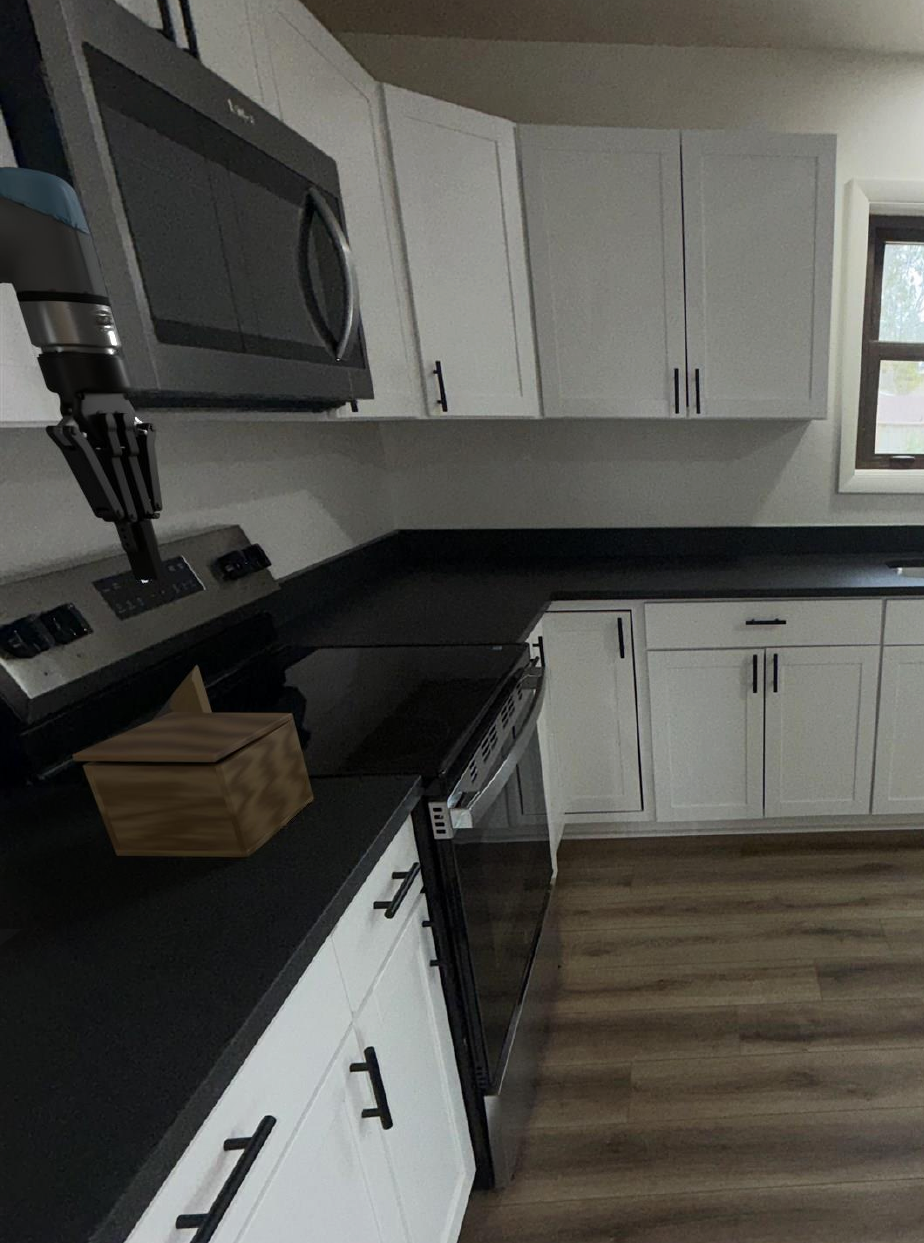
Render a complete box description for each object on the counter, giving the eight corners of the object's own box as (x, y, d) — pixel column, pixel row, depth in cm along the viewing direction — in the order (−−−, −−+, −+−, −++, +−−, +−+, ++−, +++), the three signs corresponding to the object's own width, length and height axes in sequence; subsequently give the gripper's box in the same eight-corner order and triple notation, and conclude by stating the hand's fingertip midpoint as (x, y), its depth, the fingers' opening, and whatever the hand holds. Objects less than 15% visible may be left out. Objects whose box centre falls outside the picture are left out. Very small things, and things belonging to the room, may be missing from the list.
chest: (248, 857, 99) (221, 766, 94) (116, 856, 99) (82, 765, 94) (314, 800, 113) (293, 718, 108) (199, 799, 114) (172, 718, 109)
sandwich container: (107, 773, 122) (72, 679, 115) (225, 754, 128) (198, 664, 122) (97, 796, 115) (59, 696, 108) (222, 774, 121) (193, 679, 115)
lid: (214, 762, 93) (212, 755, 93) (74, 761, 93) (71, 754, 93) (293, 718, 108) (292, 713, 108) (172, 717, 108) (171, 712, 108)
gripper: (65, 348, 78) (142, 590, 88) (159, 355, 90) (217, 568, 100) (-10, 348, 78) (75, 590, 88) (93, 355, 90) (158, 568, 100)
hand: (150, 578), depth 94 cm, fingers closed
